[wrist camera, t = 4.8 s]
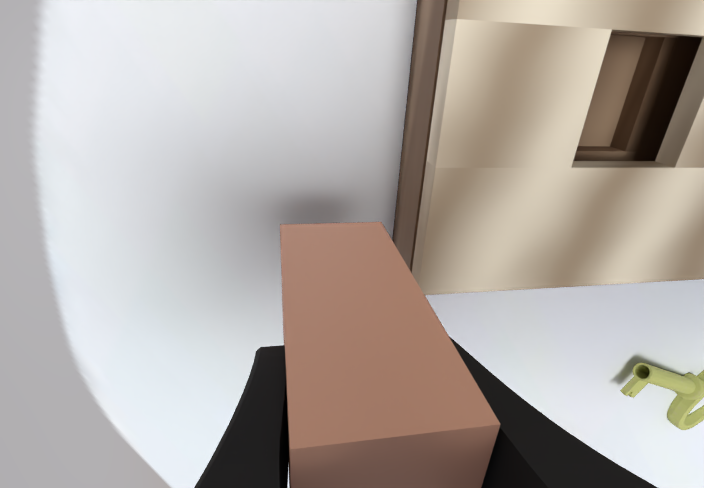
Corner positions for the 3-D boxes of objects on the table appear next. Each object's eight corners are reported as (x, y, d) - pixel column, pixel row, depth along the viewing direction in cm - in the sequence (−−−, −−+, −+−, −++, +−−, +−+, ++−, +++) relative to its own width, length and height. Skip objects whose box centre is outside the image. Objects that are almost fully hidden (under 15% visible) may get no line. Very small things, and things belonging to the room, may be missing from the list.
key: (621, 349, 29) (646, 371, 27) (751, 351, 32) (781, 371, 30) (580, 421, 32) (599, 445, 30) (701, 417, 35) (726, 439, 33)
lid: (908, -136, 14) (1086, -184, 11) (706, 267, 21) (779, 307, 18) (476, -212, 11) (552, -304, 8) (410, 283, 18) (437, 332, 15)
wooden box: (799, -107, 17) (896, -133, 14) (654, 239, 24) (700, 264, 21) (434, -161, 14) (471, -206, 12) (391, 249, 21) (408, 279, 19)
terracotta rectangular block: (381, 222, 14) (500, 424, 7) (373, 304, 16) (464, 542, 8) (279, 224, 14) (289, 449, 6) (282, 310, 15) (293, 572, 8)
